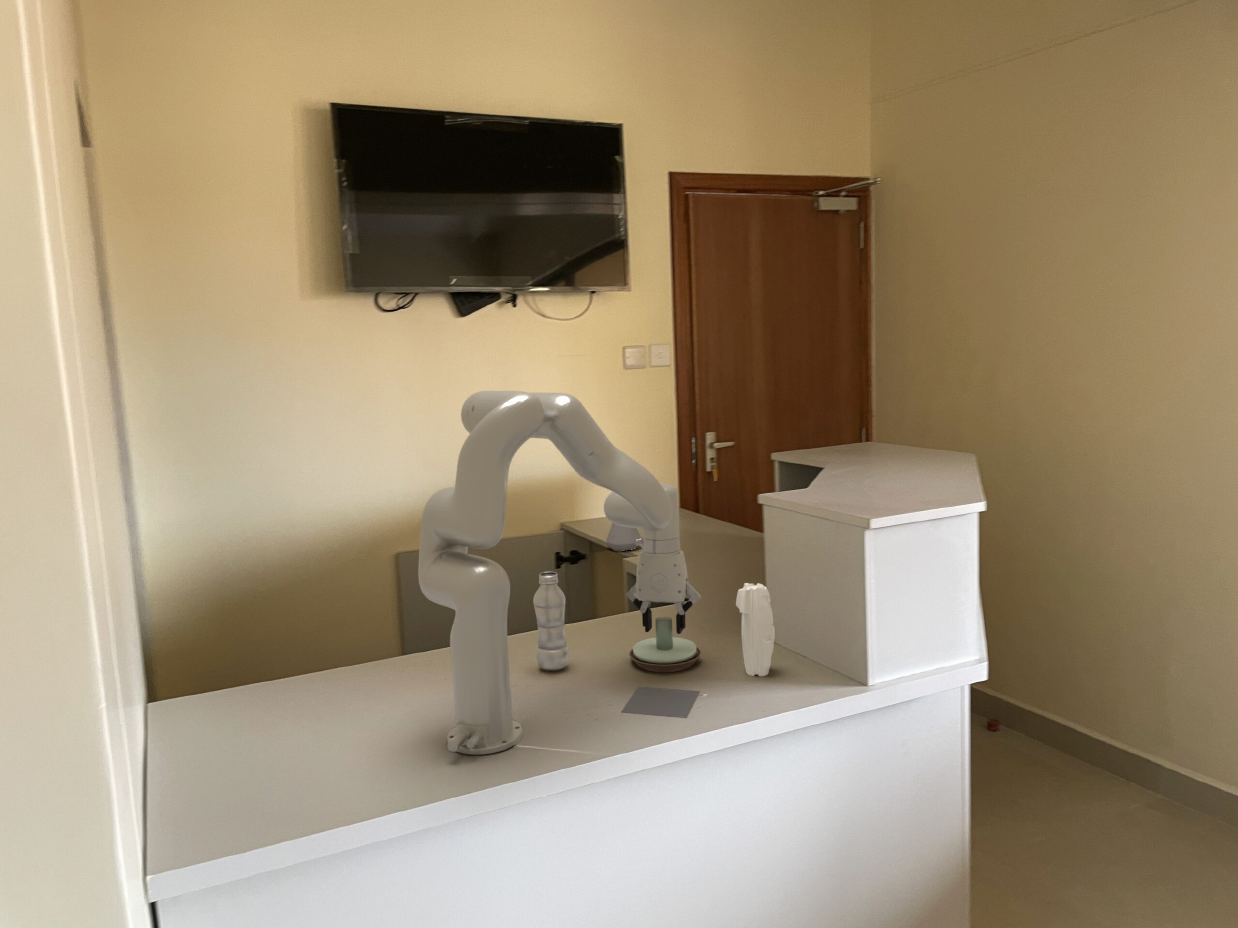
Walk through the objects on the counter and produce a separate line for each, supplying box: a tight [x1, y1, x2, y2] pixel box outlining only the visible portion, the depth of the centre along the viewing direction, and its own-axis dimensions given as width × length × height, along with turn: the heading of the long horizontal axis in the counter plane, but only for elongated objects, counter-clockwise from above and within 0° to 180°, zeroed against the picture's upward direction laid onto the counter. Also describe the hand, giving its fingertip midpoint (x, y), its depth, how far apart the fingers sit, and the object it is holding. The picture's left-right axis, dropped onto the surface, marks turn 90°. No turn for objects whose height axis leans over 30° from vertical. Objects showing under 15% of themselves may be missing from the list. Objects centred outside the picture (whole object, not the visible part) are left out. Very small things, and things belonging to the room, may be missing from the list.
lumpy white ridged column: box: [735, 582, 776, 677], centre depth 172 cm, size 7×18×7 cm
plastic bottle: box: [533, 571, 570, 671], centre depth 179 cm, size 6×7×20 cm
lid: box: [632, 616, 697, 665], centre depth 180 cm, size 13×13×7 cm
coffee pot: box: [606, 522, 642, 553], centre depth 286 cm, size 21×12×15 cm, turn 145°
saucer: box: [628, 646, 702, 673], centre depth 181 cm, size 15×15×3 cm
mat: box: [620, 686, 701, 719], centre depth 161 cm, size 12×12×1 cm
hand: (664, 630), depth 180 cm, fingers open, 6 cm apart
